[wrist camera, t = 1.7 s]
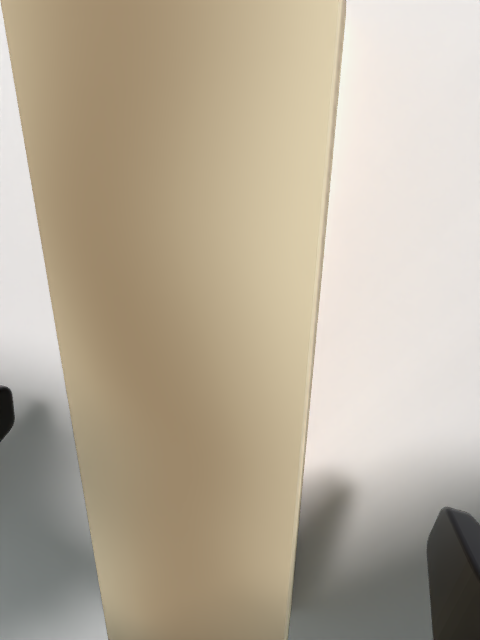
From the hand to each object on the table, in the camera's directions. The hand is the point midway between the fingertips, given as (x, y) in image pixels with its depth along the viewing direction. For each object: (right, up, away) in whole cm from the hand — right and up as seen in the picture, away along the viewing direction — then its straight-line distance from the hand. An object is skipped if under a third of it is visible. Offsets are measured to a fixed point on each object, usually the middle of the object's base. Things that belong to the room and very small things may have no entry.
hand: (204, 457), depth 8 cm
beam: (+1, +1, +3) cm, 3 cm away
